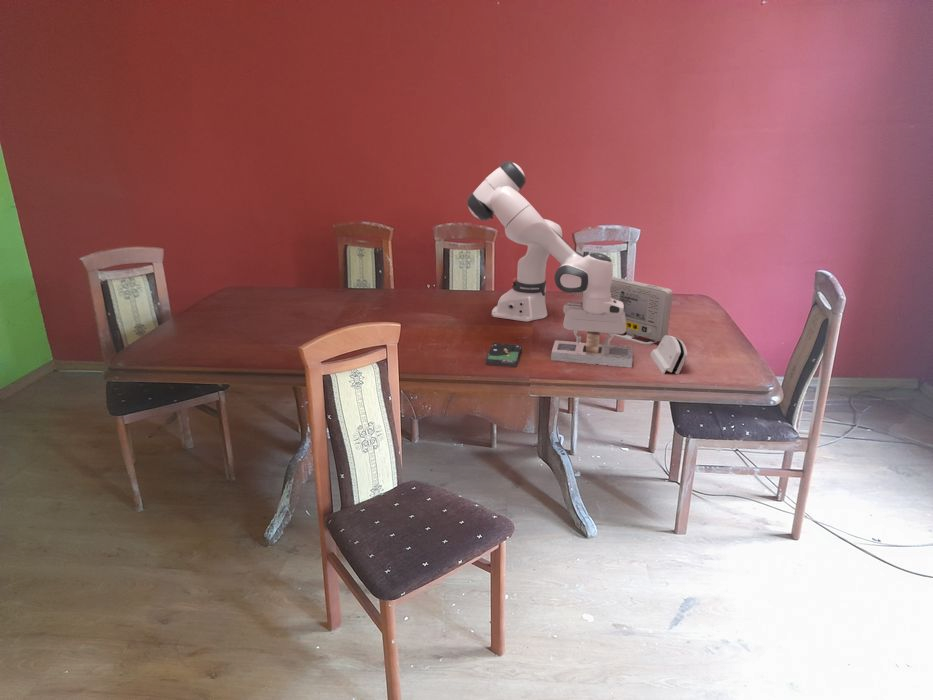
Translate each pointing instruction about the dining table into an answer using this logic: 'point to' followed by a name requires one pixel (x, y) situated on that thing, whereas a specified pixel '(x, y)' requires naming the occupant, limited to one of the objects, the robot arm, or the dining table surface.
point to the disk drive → (504, 355)
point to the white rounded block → (670, 354)
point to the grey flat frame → (592, 354)
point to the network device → (643, 309)
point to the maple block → (592, 342)
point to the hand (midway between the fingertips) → (592, 343)
